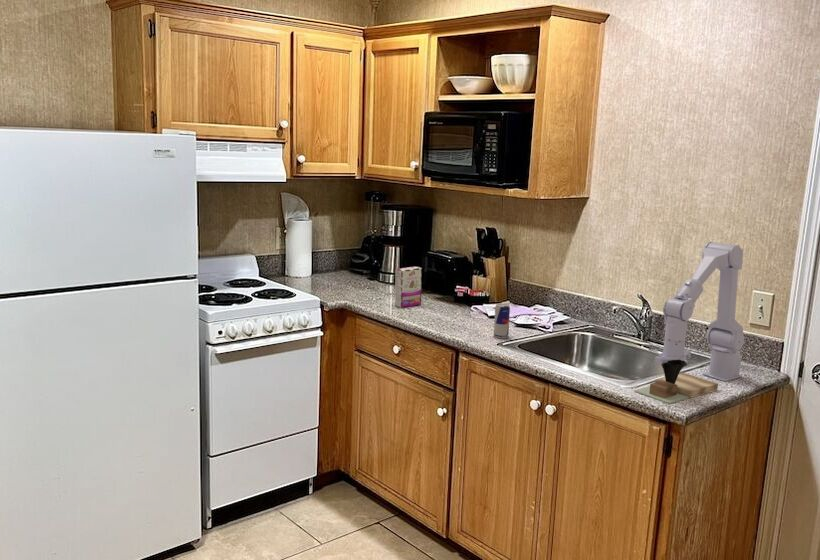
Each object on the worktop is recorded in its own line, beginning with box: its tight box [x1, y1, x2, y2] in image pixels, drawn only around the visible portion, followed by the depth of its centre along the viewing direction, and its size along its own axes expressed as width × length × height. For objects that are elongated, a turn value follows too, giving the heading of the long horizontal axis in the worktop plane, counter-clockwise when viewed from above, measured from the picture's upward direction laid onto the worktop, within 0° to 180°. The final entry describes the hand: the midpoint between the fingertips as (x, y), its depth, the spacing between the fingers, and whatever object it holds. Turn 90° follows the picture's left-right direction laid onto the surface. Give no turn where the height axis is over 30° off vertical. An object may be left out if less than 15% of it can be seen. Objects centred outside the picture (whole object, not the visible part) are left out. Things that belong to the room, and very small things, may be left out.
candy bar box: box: [394, 266, 423, 309], centre depth 319 cm, size 11×5×16 cm, turn 129°
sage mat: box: [633, 385, 690, 405], centre depth 217 cm, size 9×12×1 cm
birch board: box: [654, 372, 719, 399], centre depth 224 cm, size 14×12×2 cm
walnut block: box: [649, 380, 677, 399], centre depth 216 cm, size 6×5×3 cm
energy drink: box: [493, 303, 511, 340], centre depth 274 cm, size 5×5×12 cm
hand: (670, 384), depth 219 cm, fingers closed
